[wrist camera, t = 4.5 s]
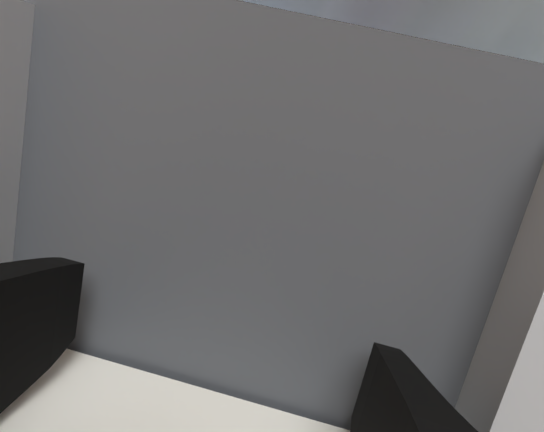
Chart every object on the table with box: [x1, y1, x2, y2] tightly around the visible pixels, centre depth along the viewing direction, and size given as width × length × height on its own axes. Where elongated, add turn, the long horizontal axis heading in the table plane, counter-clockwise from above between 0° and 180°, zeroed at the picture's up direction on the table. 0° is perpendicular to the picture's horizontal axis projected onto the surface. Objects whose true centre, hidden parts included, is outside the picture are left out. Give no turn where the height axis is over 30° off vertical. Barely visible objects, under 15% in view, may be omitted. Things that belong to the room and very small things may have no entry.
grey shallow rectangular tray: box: [0, 0, 544, 432], centre depth 13 cm, size 16×20×4 cm
